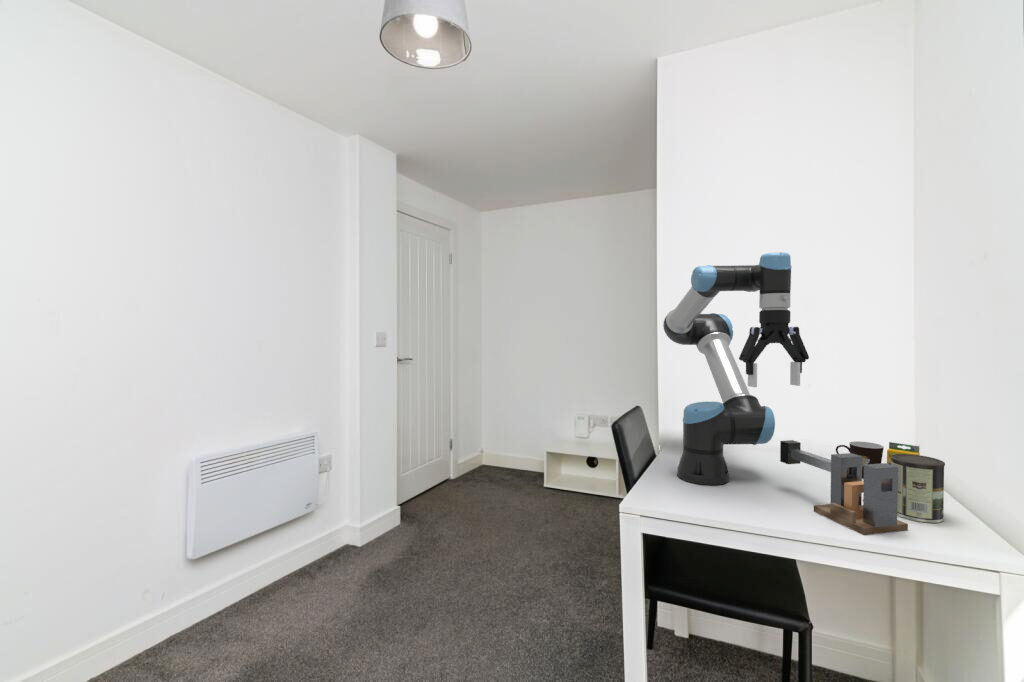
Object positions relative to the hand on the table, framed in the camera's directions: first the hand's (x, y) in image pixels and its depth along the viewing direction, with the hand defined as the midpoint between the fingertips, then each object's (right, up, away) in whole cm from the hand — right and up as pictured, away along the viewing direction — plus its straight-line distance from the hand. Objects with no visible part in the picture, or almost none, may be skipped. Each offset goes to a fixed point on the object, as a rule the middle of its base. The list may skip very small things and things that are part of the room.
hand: (773, 386), depth 131 cm
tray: (+11, -31, -16) cm, 37 cm away
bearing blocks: (+12, -30, -17) cm, 36 cm away
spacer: (+12, -30, -17) cm, 36 cm away
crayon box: (+44, -30, +10) cm, 55 cm away
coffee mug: (+38, -30, +18) cm, 51 cm away
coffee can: (+28, -31, -13) cm, 44 cm away
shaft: (+9, -23, -3) cm, 25 cm away
